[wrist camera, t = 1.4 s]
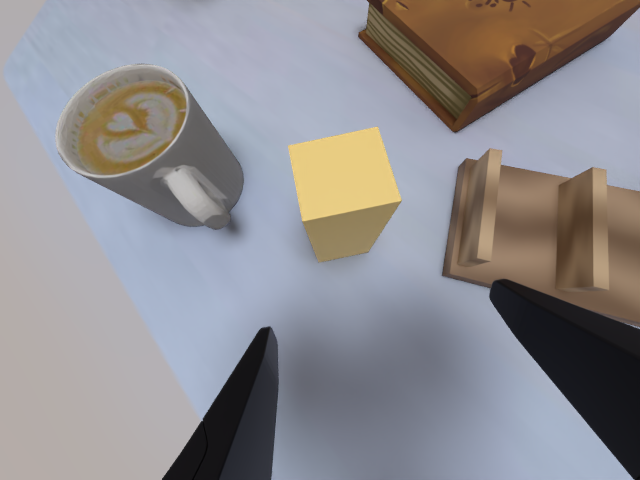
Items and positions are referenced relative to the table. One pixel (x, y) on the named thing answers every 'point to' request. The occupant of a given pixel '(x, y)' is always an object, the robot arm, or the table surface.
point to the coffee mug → (151, 145)
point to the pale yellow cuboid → (344, 191)
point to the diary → (484, 46)
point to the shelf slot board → (547, 235)
